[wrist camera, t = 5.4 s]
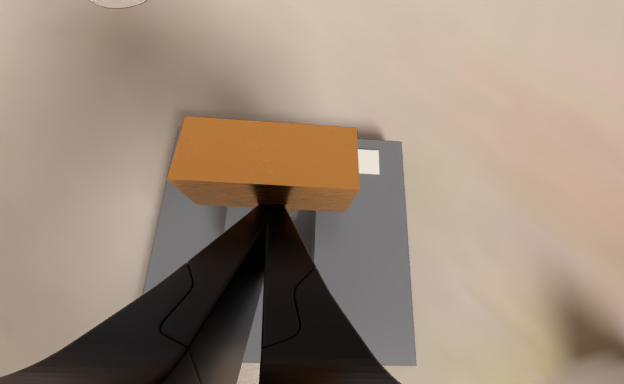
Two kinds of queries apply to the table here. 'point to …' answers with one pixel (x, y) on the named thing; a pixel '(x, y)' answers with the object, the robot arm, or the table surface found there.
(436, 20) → the table surface
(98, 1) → the cup
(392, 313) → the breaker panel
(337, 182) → the lever
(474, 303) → the table surface
